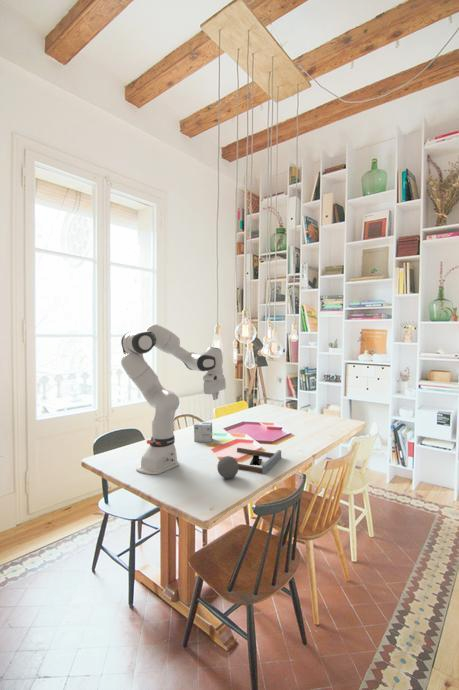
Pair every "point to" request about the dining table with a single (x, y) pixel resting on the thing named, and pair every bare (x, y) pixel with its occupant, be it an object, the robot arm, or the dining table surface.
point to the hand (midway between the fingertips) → (215, 399)
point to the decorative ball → (227, 467)
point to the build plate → (256, 460)
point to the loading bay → (265, 467)
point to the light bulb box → (203, 432)
